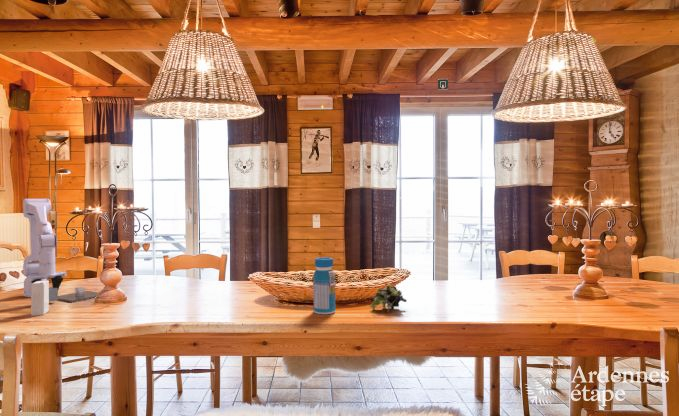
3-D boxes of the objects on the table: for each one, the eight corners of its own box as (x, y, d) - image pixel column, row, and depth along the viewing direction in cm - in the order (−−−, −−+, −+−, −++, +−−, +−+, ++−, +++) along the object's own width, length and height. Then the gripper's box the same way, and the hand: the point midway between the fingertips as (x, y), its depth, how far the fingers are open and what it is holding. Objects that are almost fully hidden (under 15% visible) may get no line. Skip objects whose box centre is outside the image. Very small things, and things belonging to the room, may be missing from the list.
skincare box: (36, 312, 173) (35, 280, 173) (49, 311, 174) (49, 280, 174) (30, 316, 167) (30, 283, 167) (44, 315, 168) (44, 282, 168)
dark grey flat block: (51, 298, 198) (50, 289, 198) (87, 292, 212) (86, 283, 211) (72, 302, 190) (72, 292, 190) (108, 295, 204) (107, 286, 204)
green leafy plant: (391, 322, 173) (409, 296, 174) (389, 324, 163) (409, 297, 163) (367, 304, 176) (385, 279, 176) (364, 305, 165) (383, 278, 166)
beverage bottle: (315, 315, 163) (315, 260, 163) (311, 310, 171) (310, 257, 171) (338, 313, 165) (337, 259, 165) (332, 308, 173) (332, 256, 173)
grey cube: (37, 301, 187) (37, 289, 187) (50, 298, 192) (50, 287, 191) (44, 302, 184) (44, 290, 184) (57, 300, 189) (57, 288, 189)
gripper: (33, 266, 179) (34, 300, 180) (70, 261, 192) (70, 293, 192) (24, 265, 183) (24, 298, 183) (61, 260, 196) (61, 292, 196)
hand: (47, 296), depth 188 cm, fingers closed on grey cube, 5 cm apart
